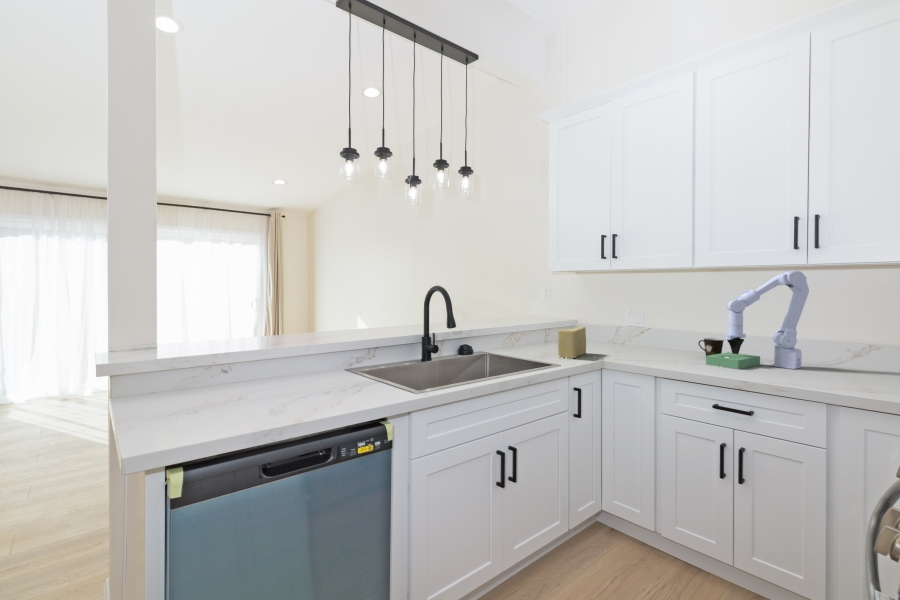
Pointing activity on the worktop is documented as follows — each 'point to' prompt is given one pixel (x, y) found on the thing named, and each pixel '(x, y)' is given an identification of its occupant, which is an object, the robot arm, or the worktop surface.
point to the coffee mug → (712, 346)
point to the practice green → (733, 360)
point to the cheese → (572, 342)
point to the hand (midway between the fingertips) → (735, 353)
